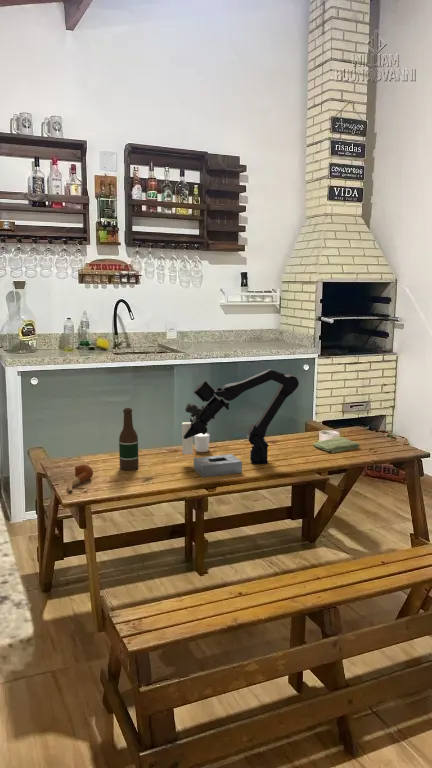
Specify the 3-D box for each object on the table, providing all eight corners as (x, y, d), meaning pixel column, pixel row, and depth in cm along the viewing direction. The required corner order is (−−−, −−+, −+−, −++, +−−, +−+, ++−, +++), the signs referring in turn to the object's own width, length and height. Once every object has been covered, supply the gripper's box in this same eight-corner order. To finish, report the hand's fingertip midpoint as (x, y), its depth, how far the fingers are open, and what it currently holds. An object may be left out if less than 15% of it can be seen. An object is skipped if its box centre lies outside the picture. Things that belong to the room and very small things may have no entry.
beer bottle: (142, 466, 259) (141, 407, 255) (133, 471, 252) (132, 411, 248) (125, 464, 261) (123, 406, 257) (115, 469, 254) (114, 410, 250)
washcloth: (311, 447, 287) (311, 440, 286) (342, 442, 295) (342, 435, 295) (329, 454, 276) (329, 447, 275) (361, 449, 284) (362, 442, 283)
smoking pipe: (95, 477, 246) (94, 462, 245) (84, 493, 227) (84, 478, 226) (76, 477, 246) (75, 462, 245) (64, 493, 228) (63, 478, 227)
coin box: (231, 464, 260) (231, 454, 259) (241, 472, 250) (241, 461, 249) (193, 469, 255) (193, 458, 254) (202, 477, 244) (202, 465, 244)
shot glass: (207, 452, 278) (207, 436, 277) (192, 451, 279) (192, 436, 278) (211, 448, 284) (211, 433, 283) (196, 447, 286) (195, 432, 285)
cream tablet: (192, 452, 262) (192, 422, 260) (192, 453, 259) (192, 423, 257) (182, 452, 261) (182, 422, 259) (182, 454, 259) (182, 423, 257)
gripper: (195, 391, 266) (168, 418, 267) (198, 400, 248) (170, 429, 248) (214, 410, 268) (188, 436, 269) (219, 420, 250) (190, 448, 251)
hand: (184, 437), depth 259 cm, fingers closed on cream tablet, 2 cm apart
